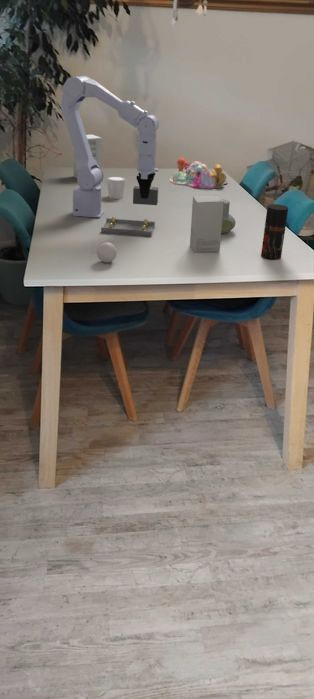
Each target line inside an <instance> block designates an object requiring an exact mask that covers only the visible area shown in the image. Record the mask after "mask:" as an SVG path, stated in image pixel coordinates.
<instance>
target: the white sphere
mask: <svg viewBox="0 0 314 699" xmlns="http://www.w3.org/2000/svg"><path fill="white" fill-rule="evenodd" d="M117 252H118V251H117V248H116V246H115V245H114V244H113V243H111V242H107V241H106V242H102V243H100V244H99V245H98V247H97V249H96V252H95V251H94V252H92V254H94V253H96V256H97V257H98V259H99V261H101V262H103V263H105V264H108V263H112V262H113V261H114V260H116V257H117V254H118V253H117Z"/></svg>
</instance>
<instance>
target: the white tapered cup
mask: <svg viewBox="0 0 314 699" xmlns="http://www.w3.org/2000/svg"><path fill="white" fill-rule="evenodd" d="M106 180H107V182H106V183H107V193H108V198H110V199H115V200H119V199H123V198H124V194H125V184H126V178H125V177H123V176H109V177H107V179H106Z"/></svg>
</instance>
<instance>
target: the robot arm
mask: <svg viewBox="0 0 314 699" xmlns="http://www.w3.org/2000/svg"><path fill="white" fill-rule="evenodd" d="M61 90H62V95H61V102H60V109H61V112H62V116H63V119H64V122H65V125H66V129H67V133H68V135H69V138H70V141H71V142H70V143H71V145H72V149H73V148H74V152H75V155H76V158H77V161H78V164H77V173H78V178H76V180H77V185H78V186H79V187H74V188H73V192H72V216H73V217H82V218H83V217H85V218H86V217H87V218H97V219H98V218H101V217H102V215H103V214H104V210H102V185H101V183H102V182H103V180H104V177H105V176H104V172H103V169H102V170H101V169H100V168H99V166H98V164H97V161H96V160H95V159H94V158H93V156H92V153H91V149H90V146H89V143H88V140H87V136H86V135H87V133H86V130H85V127H84V124H83V120H82V117H81V113H80V110H79V109H80V106H81V104H82V103H83V101H84V100H85V99H86V98H96V99H97V100H99V101H101V102H103V103H104V104H106V105H107V106H109V107H111V108H112V109H113V110H116V111H117V115H118V117H119V118H121V119H122V120H124V121H125V122H126V123H128V124H129V125H131V126H132V127H134V128H137V131H138V147H137V148H138V150H137V151H138V152H137V156H138V157H137V167H136V170H137V172H138V174H137V175H136V178H135V179H136V181H137V184H138V186H139V187H140V194H141V198H148V195H149V190H150V187H152V183H153V181H154V179H155V176H156V173H158V172H159V171H160V170H159V168H156V158H157V134H158V132H157V131H158V129H159V127H160V121H159V119H158V117H157V116H156V115H155V114H154V113H153V114H152V113H149V111H147V110H146V109H145V110H143V109H142V108H140V107H139V106H138V105H136V101H134V100H131V101H130V100H121V99H120V98H119V97H118V96H116V95H115V94H113V93H112V92H111V91H110V90H108V89H107V88H106V87H104V86H103V85H102V84H100V83H99V82H97V81H96V80H95V79H93V78H90V77H89V76H88V75H85V74H80V75H77V76H71V77H68V78H67V79H66V81H65V82H64V83H63V86H62V87H61Z"/></svg>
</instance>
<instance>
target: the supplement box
mask: <svg viewBox="0 0 314 699" xmlns="http://www.w3.org/2000/svg"><path fill="white" fill-rule="evenodd" d="M86 136H87V140H88V143H89V146H90V149H91V153H92V156H93V158H94V159H95V160H96V161H97V164H98V166H99V168H100V169H101V170H102V171H103V138H102V137H100V136H98V135H95V134H86ZM72 157H73V158H72V159H73V160H72V162H73V163H72V165H73V167H72V168H73V170H72V172H73V173H72V174H73V177H74V178H76V179H77V178H78V173H77V164H78V161H77V158H76V155H75V152H74V148H73V147H72Z"/></svg>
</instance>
